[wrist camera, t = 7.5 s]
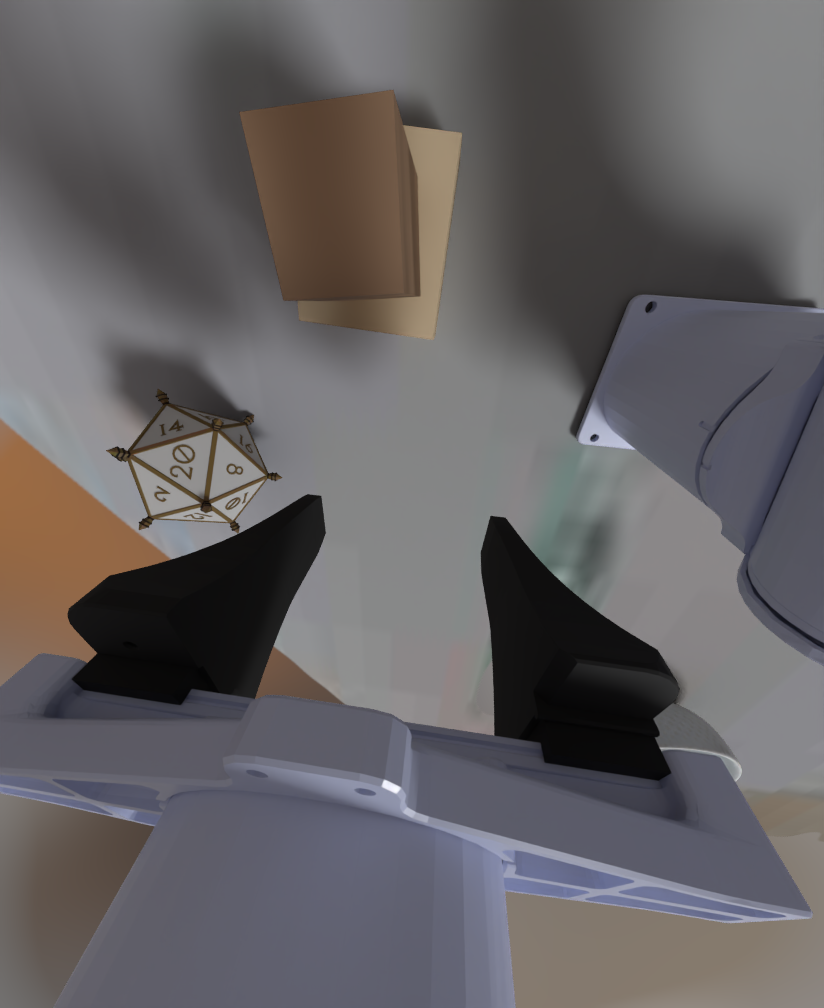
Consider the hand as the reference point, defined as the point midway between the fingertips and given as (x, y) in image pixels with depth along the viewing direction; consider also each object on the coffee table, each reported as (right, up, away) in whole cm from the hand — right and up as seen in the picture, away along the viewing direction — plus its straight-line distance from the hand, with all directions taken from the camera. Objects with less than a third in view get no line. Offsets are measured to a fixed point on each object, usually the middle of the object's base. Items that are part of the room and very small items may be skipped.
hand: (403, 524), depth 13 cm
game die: (-13, +6, +10) cm, 17 cm away
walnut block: (-1, +13, +1) cm, 13 cm away
